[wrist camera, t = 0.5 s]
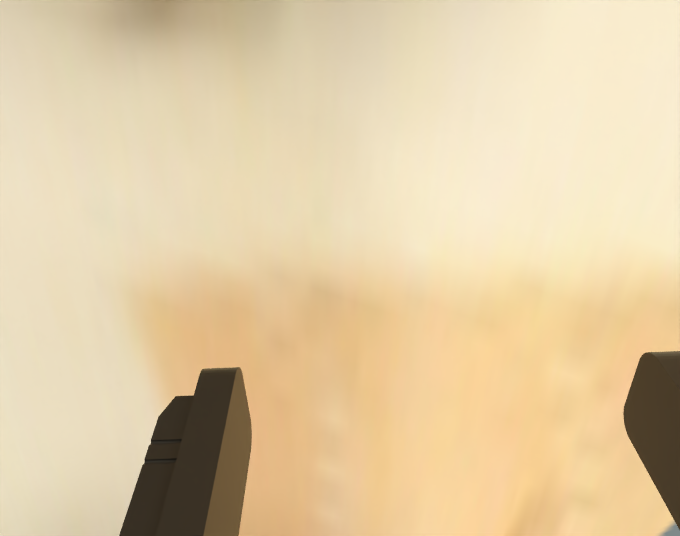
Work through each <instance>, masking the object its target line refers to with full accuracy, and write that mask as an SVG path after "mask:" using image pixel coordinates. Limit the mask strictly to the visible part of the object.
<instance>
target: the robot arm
mask: <svg viewBox="0 0 680 536" xmlns="http://www.w3.org/2000/svg"><path fill="white" fill-rule="evenodd" d="M624 424H625V428H626V431H627V434H628V436H629V438H630V440H631V442H632V444H633V446H634V448H635V449H636V451H637V453H638V455H639V457H640V459H641V460H642V462H643V464H644V466H645V468H646V469H647V471H648V473H649V475H650V477H651V479H652V480H653V482H654V484H655V486H656V488H657V489H658V491H659V493H660V495H661V497H662V499H663V500H664V502H665V504H666V506H667V508H668V509H669V511H670V513H671V515H672V517H673V519H674V520H675V522H676V524H677V526H678V528H679V529H680V351H672V352H648V353H644V354H643V355H642V356H641V358H640V360H639V363H638V366H637V369H636V372H635V375H634V378H633V381H632V384H631V387H630V390H629V393H628V396H627V399H626V402H625V406H624ZM251 439H252V431H251V419H250V413H249V408H248V402H247V397H246V391H245V386H244V380H243V375H242V371H241V369H240V368H239V367H237V368H212V369H202V371H201V373H200V376H199V379H198V383H197V386H196V390H195V394H194V396H176V397H175V398H174V399H173V400H172V401H171V403H170V404H169V405H168V406H167V407H166V409H165V410H164V411H163V412H162V413H161V415H160V416H159V417H158V420H157V423H156V426H155V429H154V432H153V435H152V438H151V445H149V447H148V450H147V453H146V457H145V463H144V464H143V466H142V469H141V472H140V475H139V478H138V481H137V484H136V487H135V490H134V493H133V496H132V499H131V502H130V505H129V508H128V511H127V514H126V517H125V520H124V523H123V526H122V529H121V532H120V535H119V536H238V535H239V528H240V521H241V514H242V507H243V500H244V493H245V486H246V480H247V473H248V466H249V459H250V452H251Z"/></svg>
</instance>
